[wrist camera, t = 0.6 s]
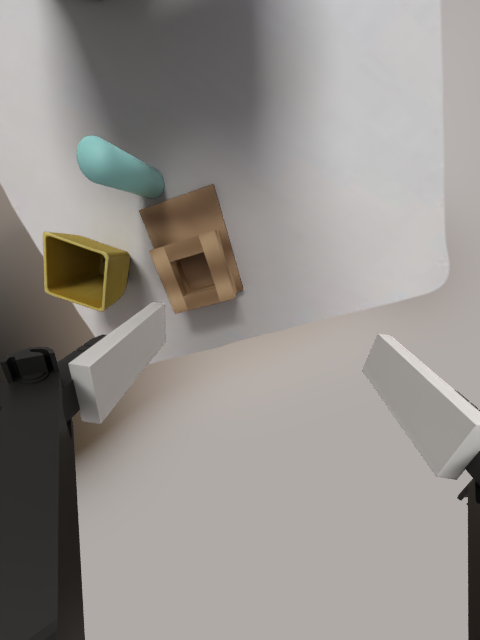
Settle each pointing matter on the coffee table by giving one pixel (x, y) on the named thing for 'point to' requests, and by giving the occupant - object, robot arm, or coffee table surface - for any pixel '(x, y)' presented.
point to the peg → (117, 168)
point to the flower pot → (84, 270)
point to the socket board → (189, 226)
